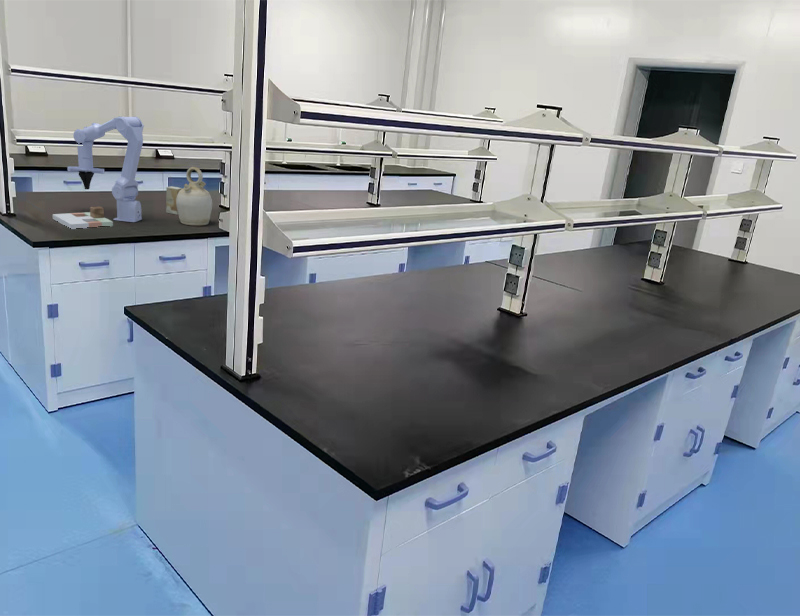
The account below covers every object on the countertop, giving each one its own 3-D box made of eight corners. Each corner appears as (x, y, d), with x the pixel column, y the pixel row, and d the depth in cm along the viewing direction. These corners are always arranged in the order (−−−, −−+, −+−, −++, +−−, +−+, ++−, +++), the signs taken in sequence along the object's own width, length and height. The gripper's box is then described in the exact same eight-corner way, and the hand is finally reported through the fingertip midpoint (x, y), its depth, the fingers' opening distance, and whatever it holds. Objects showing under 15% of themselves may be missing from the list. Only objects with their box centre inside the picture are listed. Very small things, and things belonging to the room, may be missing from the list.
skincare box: (165, 212, 297) (165, 186, 293) (171, 211, 301) (171, 185, 297) (177, 214, 296) (177, 188, 292) (183, 213, 300) (183, 187, 296)
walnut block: (100, 215, 269) (99, 206, 268) (103, 217, 267) (103, 208, 266) (90, 216, 267) (89, 207, 265) (94, 218, 264) (93, 208, 263)
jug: (197, 217, 294) (197, 163, 286) (219, 224, 286) (219, 168, 278) (169, 221, 282) (168, 164, 274) (191, 228, 274) (190, 170, 266)
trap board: (93, 216, 275) (93, 211, 275) (113, 226, 263) (112, 221, 262) (52, 218, 264) (52, 214, 263) (71, 229, 251) (70, 224, 250)
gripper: (64, 157, 269) (66, 189, 273) (100, 160, 272) (102, 191, 276) (69, 155, 276) (71, 186, 280) (105, 158, 279) (106, 189, 283)
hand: (87, 188), depth 279 cm, fingers closed
